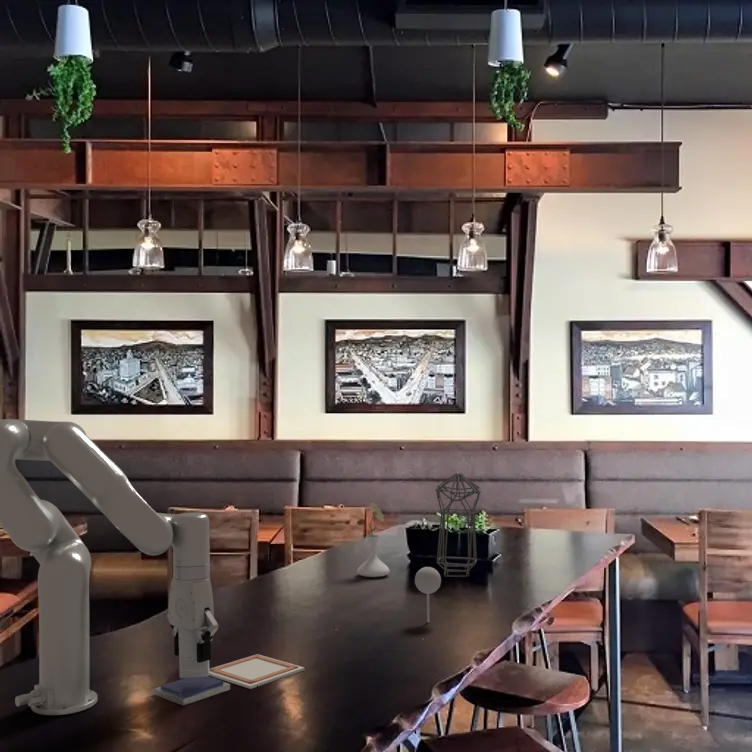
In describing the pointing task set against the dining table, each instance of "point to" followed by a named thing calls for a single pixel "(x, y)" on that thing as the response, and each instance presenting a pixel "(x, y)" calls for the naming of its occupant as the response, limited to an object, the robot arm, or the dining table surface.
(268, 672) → the white square board
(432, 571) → the lollipop
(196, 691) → the ink pad
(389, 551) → the dining table surface
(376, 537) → the flower in vase
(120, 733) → the dining table surface
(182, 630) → the skincare box
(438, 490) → the geometric lantern
